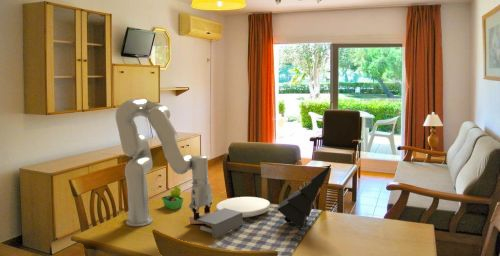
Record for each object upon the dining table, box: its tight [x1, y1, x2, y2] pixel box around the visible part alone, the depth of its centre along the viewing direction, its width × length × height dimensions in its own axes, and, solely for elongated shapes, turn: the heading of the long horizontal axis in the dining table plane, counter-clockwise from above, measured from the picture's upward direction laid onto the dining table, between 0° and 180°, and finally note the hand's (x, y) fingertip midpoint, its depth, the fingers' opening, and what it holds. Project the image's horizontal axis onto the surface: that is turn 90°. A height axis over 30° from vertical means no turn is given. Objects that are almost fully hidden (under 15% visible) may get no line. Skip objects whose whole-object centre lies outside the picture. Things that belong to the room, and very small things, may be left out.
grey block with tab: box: [197, 208, 243, 240], centre depth 197 cm, size 13×19×6 cm
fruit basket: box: [161, 185, 184, 211], centre depth 230 cm, size 11×9×11 cm
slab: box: [188, 211, 215, 225], centre depth 203 cm, size 12×6×4 cm, turn 53°
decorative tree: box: [276, 164, 332, 229], centre depth 199 cm, size 15×15×35 cm
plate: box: [215, 196, 271, 218], centre depth 220 cm, size 28×6×27 cm
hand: (202, 217), depth 204 cm, fingers open, 6 cm apart
